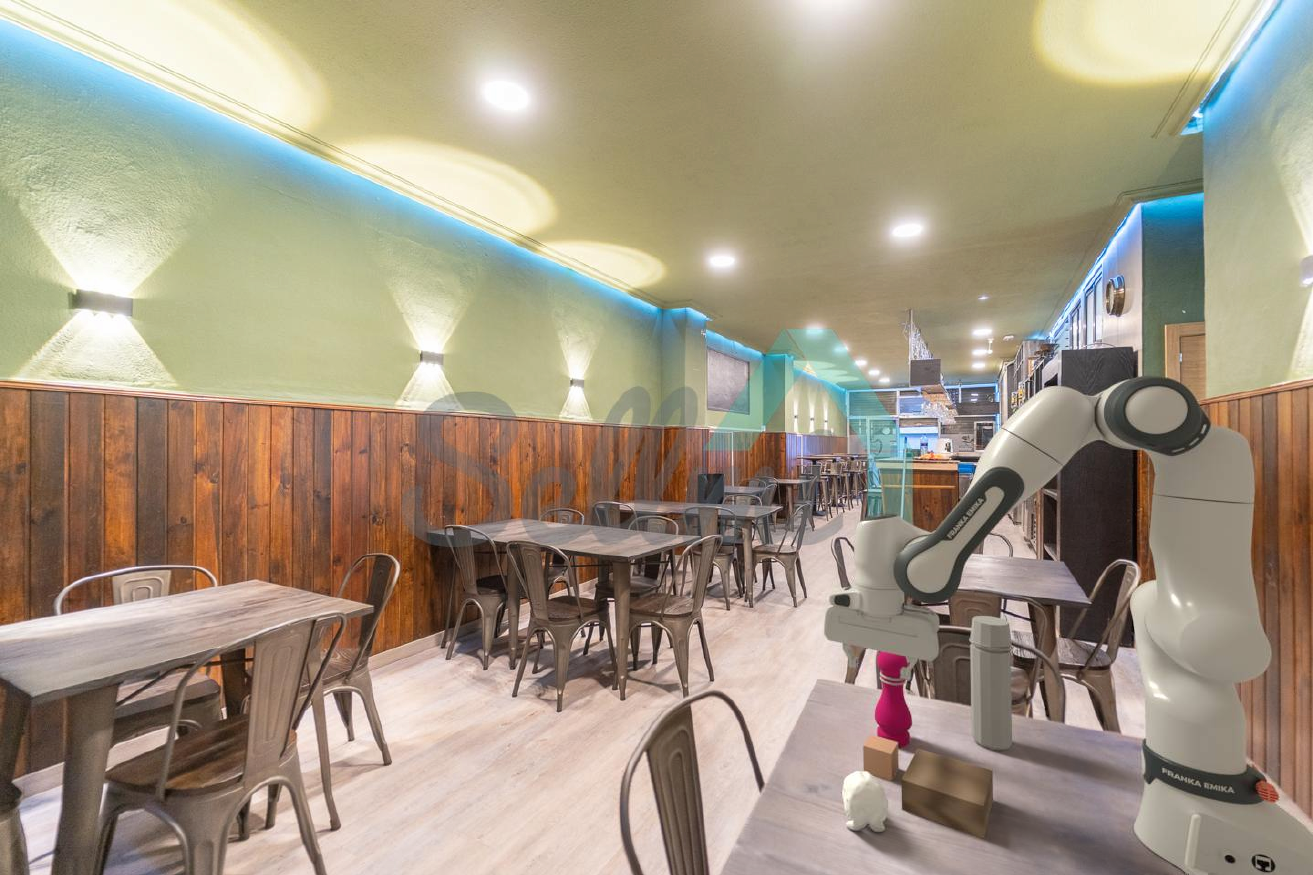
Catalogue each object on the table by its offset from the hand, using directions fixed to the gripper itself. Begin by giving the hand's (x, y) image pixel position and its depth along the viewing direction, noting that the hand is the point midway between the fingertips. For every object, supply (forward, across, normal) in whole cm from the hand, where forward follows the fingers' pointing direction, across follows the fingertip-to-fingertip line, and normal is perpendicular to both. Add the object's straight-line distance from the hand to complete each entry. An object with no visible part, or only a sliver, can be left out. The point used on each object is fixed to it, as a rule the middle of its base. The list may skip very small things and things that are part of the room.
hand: (879, 672), depth 107 cm
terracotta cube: (+18, 0, 0) cm, 18 cm away
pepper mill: (+18, +1, -13) cm, 22 cm away
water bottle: (+18, -16, -24) cm, 34 cm away
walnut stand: (+18, -12, +4) cm, 22 cm away
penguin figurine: (+18, -1, +16) cm, 24 cm away
